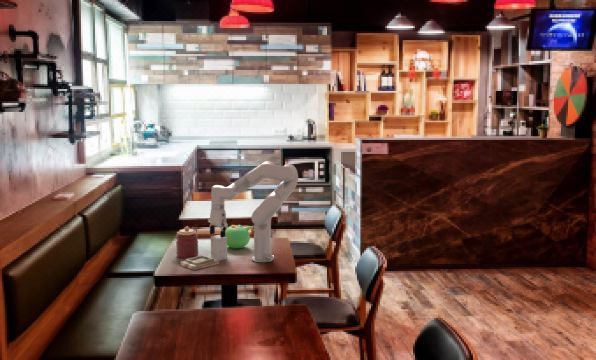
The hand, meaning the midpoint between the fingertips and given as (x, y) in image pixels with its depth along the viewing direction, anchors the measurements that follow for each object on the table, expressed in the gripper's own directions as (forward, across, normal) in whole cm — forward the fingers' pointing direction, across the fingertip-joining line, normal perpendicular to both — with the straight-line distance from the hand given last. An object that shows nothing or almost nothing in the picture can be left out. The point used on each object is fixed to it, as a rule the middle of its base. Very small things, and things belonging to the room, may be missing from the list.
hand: (217, 235), depth 373 cm
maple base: (+14, -3, +15) cm, 20 cm away
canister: (+14, +17, +9) cm, 24 cm away
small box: (+14, -1, -1) cm, 14 cm away
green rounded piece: (+14, +10, -24) cm, 29 cm away
